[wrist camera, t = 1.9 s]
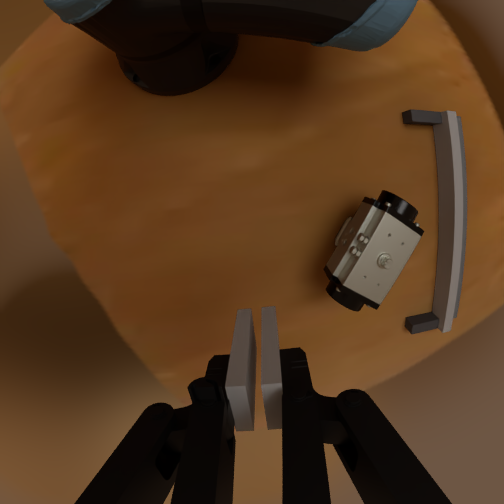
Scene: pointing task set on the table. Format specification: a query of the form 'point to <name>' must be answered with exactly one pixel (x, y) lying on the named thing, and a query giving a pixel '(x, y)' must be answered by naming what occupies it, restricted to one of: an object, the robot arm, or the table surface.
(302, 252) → the table surface
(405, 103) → the table surface
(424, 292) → the table surface
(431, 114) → the curved pull handle
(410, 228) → the pneumatic valve
